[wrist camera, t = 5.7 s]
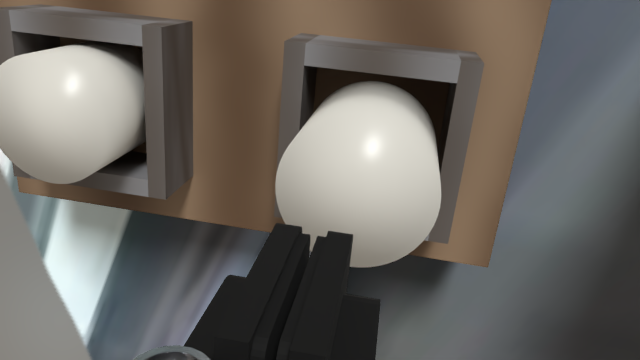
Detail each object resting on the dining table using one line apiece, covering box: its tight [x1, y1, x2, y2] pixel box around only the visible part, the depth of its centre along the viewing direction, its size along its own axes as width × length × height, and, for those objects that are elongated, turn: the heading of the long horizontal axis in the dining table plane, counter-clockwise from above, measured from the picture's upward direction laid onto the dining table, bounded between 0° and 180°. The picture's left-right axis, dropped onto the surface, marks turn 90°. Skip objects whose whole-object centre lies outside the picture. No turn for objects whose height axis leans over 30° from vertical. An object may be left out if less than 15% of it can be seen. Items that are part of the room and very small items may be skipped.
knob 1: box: [0, 41, 146, 184], centre depth 22 cm, size 5×5×5 cm
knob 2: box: [275, 81, 441, 267], centre depth 18 cm, size 5×5×5 cm
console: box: [0, 0, 552, 267], centre depth 25 cm, size 24×12×9 cm, turn 84°
